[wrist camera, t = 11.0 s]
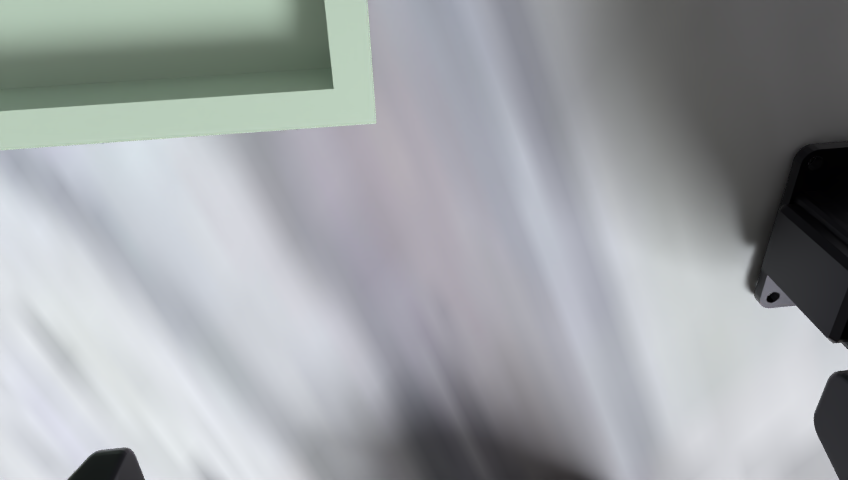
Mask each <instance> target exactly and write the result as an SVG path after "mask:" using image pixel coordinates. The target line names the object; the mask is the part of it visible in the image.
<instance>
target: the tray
mask: <svg viewBox="0 0 848 480" xmlns="http://www.w3.org/2000/svg"><path fill="white" fill-rule="evenodd" d="M362 124H376V112H375V98H374V85H373V71H372V57H371V43H370V30H369V16H368V2H367V0H0V150H11V149H25V148H39V147H53V146H67V145H81V144H95V143H109V142H124V141H138V140H152V139H166V138H180V137H194V136H208V135H222V134H236V133H250V132H264V131H278V130H292V129H306V128H320V127H334V126H348V125H362Z"/></svg>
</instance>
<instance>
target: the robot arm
mask: <svg viewBox="0 0 848 480" xmlns="http://www.w3.org/2000/svg"><path fill="white" fill-rule="evenodd" d="M813 157H816V158H815V159H814V161H813V162H812V163H810V164H808V163H809V161H810V160H811V159H812V158H813ZM772 292H773V293H772ZM770 293H772V294H770ZM769 294H770V295H769ZM768 295H769V296H768ZM754 296H755V298H756V300H757V301H758V302H759V303H760V304H761V305H762V306H763V307H765V308H775V307H785V306H795V305H796V306H797V307H798V308H799V309H800V310H801V311H802V312H803V313H804V314H805V315H806V316H807V317H808V318H809V319H810V320H811V322H812V323H813V324H814V325H815V326H816V327H817V328H818V329H819V330H820V331H821V332H822V333H823V334H824V335H825V336H826V337H827V338H828V339H829V340H830V341H831V342H832V343H842V344H843V345H844V346H845V347H846V348H847V349H848V141H847V142H834V143H822V144H811V145H807V146H805V147H804V148H802V149H801V150H800V151H799V152H798V153H797V154H796V156H795V158H794V160H793V164H792V167H791V171H790V174H789V177H788V181H787V184H786V188H785V191H784V194H783V198H782V201H781V204H780V208H779V211H778V213H777V217H776V220H775V223H774V227H773V230H772V234H771V237H770V240H769V244H768V247H767V250H766V254H765V257H764V261H763V264H762V269H761V272H760V276H759V279H758V282H757V286H756V289H755V294H754ZM814 426H815V430H816V433H817V435H818V437H819V439H820V441H821V443H822V445H823V447H824V449H825V451H826V453H827V455H828V457H829V459H830V461H831V464H832V466H833V468H834V470H835V472H836V474H837V476H838V478H839V480H848V370H845V371H837V372H834V373H833V374H832V375H831V376H830V377H829V379H828V381H827V383H826V386H825V388H824V391H823V393H822V396H821V398H820V401H819V403H818V406H817V408H816V410H815V413H814ZM67 480H145V479H144V476H143V474H142V471H141V469H140V466H139V463H138V461H137V458H136V456H135V454H134V452H133V451H132V450H131V449H129V448H115V449H106V450H99V451H96V452H94V453H93V454H92V455H90V456H89V457H88V458H87V459H86V460H85V461H84V462H83V463H82V464H81V466H80V467H79V468H78V469H77V470H76V471H75V472H74V473H73V474H72V475H71V476H70V477H69V478H68V479H67Z"/></svg>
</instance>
